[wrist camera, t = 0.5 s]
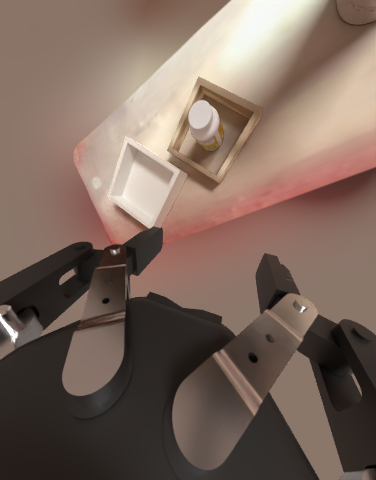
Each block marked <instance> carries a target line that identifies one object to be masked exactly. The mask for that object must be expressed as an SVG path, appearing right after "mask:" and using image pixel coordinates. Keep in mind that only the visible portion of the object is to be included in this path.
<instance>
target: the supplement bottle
mask: <svg viewBox="0 0 376 480" xmlns="http://www.w3.org/2000/svg"><path fill="white" fill-rule="evenodd" d="M188 119H189V123H190V130H191V133H192V135H193V137H194V138H195V139H196V140H197V142H198V143H199V144H200V145H201V147H202V148H203V149H204V150H206V151H214V150H216V149H217V148H218V147H219V146H220V145H221V144H222V141H223V138H224V131H223V128H222V125H221V121H220V118H219V115H218V112H217V110H216V109H215V108H214V107H212V106H210V104H209V103H208V102H207V101H205V100H200V101H197V102H196V103H194V104H193V106H192V107H191V109H190V111H189V115H188Z"/></svg>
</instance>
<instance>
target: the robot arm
mask: <svg viewBox="0 0 376 480" xmlns="http://www.w3.org/2000/svg"><path fill="white" fill-rule="evenodd" d="M337 10H338V12H339V15H340V16H341V18H342V19H343V20H344V21H346V22H348V23H350V24H355V25H358V24H366V23H370V22H373V21H375V20H376V0H337ZM162 244H163V229H162V228H159V227H155V226H153V227H151V228H150V229H148V230H146V231H143V232H140V233H139V234H137V235H136V236H134V237H133V238H131V239H130V240H128V241H127V242H126V243H124V244H123V245H121V244H114V245H110V246H108V247H106V248H105V249H104V250H95V249H93V246H92V244H91V243H89V242H78V243H74V244H72V245H70V246H68V247H66V248H64V249H62V250H60V251H58V252H56V253H54V254H53V255H50V256H49V257H47V258H45V259H43V260H41V261H39V262H37V263H35V264H33V265H31V266H30V267H27V268H26V269H24V270H22V271H20V272H18V273H16V274H14V275H12V276H10V277H8V278H7V279H5V280H3V281H1V282H0V480H319V478H318V476H317V474H316V473H315V471H314V469H313V468H312V466H311V464H310V462H309V461H308V459H307V457H306V455H305V454H304V452H303V450H302V448H301V447H300V445H299V443H298V441H297V440H296V438H295V436H294V434H293V433H292V431H291V429H290V427H289V426H288V424H287V422H286V421H285V419H284V417H283V415H282V414H281V412H280V410H279V408H278V407H277V405H276V403H275V401H274V400H273V398H272V396H271V394H270V393H269V391H270V389H271V388H272V386H273V384H274V383H275V382H276V380H277V378H278V377H279V375H280V374H281V372H282V371H283V369H284V368H285V366H286V365H287V363H288V362H289V360H290V359H291V357H292V356H293V354H294V353H295V351H296V350H297V351H299V352H300V353H302V354H303V355H305V356H306V357H308V358H309V359H310V363H311V365H312V369H313V372H314V376H315V379H316V382H317V386H318V389H319V392H320V395H321V399H322V402H323V405H324V409H325V412H326V415H327V418H328V422H329V425H330V428H331V432H332V435H333V438H334V441H335V445H336V448H337V451H338V455H339V458H340V461H341V464H342V468H343V471H344V473H342V474H341V475H340V476H339V479H338V480H376V335H375V334H374V333H372V332H371V331H370V330H368V329H367V328H365V327H364V326H362V325H360V324H358V323H356V322H354V321H351V320H347V319H343V320H341V321H340V322H339V323H338V324H336V323H334V322H332V321H330V320H328V319H326V318H324V317H322V316H321V315H319V314H318V312H317V309H316V308H315V306H314V305H313V304H312V303H311V302H310V301H309V300H307V299H305V298H304V297H302V296H301V295H300V293H299V291H298V289H297V287H296V285H295V282H294V280H293V278H292V277H291V274H290V271H289V270H288V269H287V268H286V267H285V266H284V265H282V264H280V262H279V260H278V257H277V256H274V255H270V254H266V253H265V254H264V255H263V257H262V260H261V262H260V264H259V267H258V269H257V272H256V285H257V292H258V298H259V306H260V313H261V315H260V316H259V317H257V318H256V319H255V320H254V321H253V322H252V323H251V324H250V325H248V326H247V327H246V328H245V329H244V330H243V331H242V332H241V333H240V334H238V335H237V336H235V335H234V333H233V332H232V331H231V330H230V329H228V328H227V327H226V326H224V325H223V324H222V323H221V321H222V317H221V316H219V315H216V314H213V313H210V312H207V311H204V310H198V309H188V308H182V307H180V306H179V305H177V304H176V303H174V302H173V301H171V300H170V299H168V298H166V297H164V296H161V295H158V294H155V293H152V292H150V293H149V294H148V295H147V297H135V298H131V296H130V275H131V274H133V275H136V276H138V275H139V274H140V273H141V272H142V271H143V270H144V269H145V268H146V266H147V265H148V264H149V263H150V262H151V261H152V260H153V259H154V258H155V257H156V255H157V254H158V253H159V252H160V251H161V249H162ZM71 269H74V272H75V275H74V276H72V277H71V278H70V279H68V280H67V281H66V282H64V283H63V284H62V285H59V280H60V278H61V277H62V276H63V275H64V274H65V273H67V272H68V271H70V270H71ZM87 290H89V292H88V295H87V300H86V303H85V307H84V311H83V315H82V319H81V320H78V321H76V322H74V323H71V324H69V325H67V326H65V327H62V328H60V329H58V330H55V331H53V332H51V333H48V334H46V335H44V336H41V334H42V331H43V330H45V329H46V328H47V327H48V326H49V325H50V324H51V323H52V322H53V321H54V320H56V319H57V318H58V317H59V316H60V315H61V314H62V313H63V312H64V311H65V310H66V309H68V308H69V307H70V306H71V305H72V304H73V303H74V302H75V301H76V300H77V299H79V298H80V297H81V296H82V295H83V294H84V293H85V292H86V291H87ZM40 336H41V337H40ZM353 373H354V375H355V377H356V379H357V381H358V383H359V385H360V388H361V391H362V396H361V394H360V392H359V390H358V388H357V386H356V384H355V382H354V380H353V378H352V376H351V374H353Z"/></svg>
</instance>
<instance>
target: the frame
mask: <svg viewBox="0 0 376 480" xmlns="http://www.w3.org/2000/svg"><path fill="white" fill-rule="evenodd" d="M204 95H205V96H207V97H209V98H211V99H213V100H215V101H216V102H218V103H220V104H222V105H224V106H226V107H228V108H230V109H232V110H234V111H236V112H238V113H240V114H241V115H243V116H245V117H247V118H249V119H250V120H249V122H248V123H247V125H246V127H245V128H244V130H243V132H242V134H241V135H240V137H239V139H238V140H237V142H236V144H235V145H234V147H233V149H232V150H231V152H230V154H229V155H228V157H227V159H226V160H225V162H224V164H223V166H222V167H221V169H220V171H219V172H218V174H217V175H215V174H213V173H212V172H210V171H208V170H207V169H205V168H204V167H202V166H200V165H199V164H197V163H195V162H194V161H192V160H191V159H189V158H187V157H186V156H184V155H182V154H181V153H179V152H178V151H179V149H180V147H181V144H182V142H183V140H184V138H185V136H186V133H187V131H188V129H189V127H190V123H189V119H188V115H189V111H190V109H191V107H192V106H193V104H194V103H196V102H197V101H200V100H202V98H203V96H204ZM262 110H263V108H261V107H259V106H257V105H255V104H253V103H251V102H249V101H247V100H245V99H243V98H241V97H239V96H237V95H235V94H233V93H231V92H229V91H227V90H225V89H223V88H221V87H219V86H217V85H215V84H213V83H211V82H209V81H207V80H205V79H203V78H201V77H198V79H197V81H196V84H195V86H194V89H193V91H192V93H191V96H190V98H189V100H188V103H187V105H186V107H185V110H184V112H183V114H182V117H181V119H180V121H179V124H178V126H177V128H176V131H175V133H174V135H173V138H172V140H171V143H170V145H169V147H168V150H167V151H168V152H170V153H171V154H173V155H174V156H176V157H178V158H179V159H181V160H182V161H184V162H186V163H187V164H189V165H191V166H192V167H194V168H195V169H197V170H199V171H200V172H202V173H203V174H205V175H207V176H208V177H210V178H211V179H213V180H215V181H216V182H218V183H219V184H220V183H221V181H222V180H223V178H224V177H225V175H226V173H227V172H228V170H229V168H230V167H231V165H232V164H233V162H234V160H235V159H236V157H237V155H238V154H239V152H240V151H241V149H242V147H243V146H244V144H245V143H246V141H247V139H248V138H249V136H250V134H251V133H252V131H253V130H254V128H255V126H256V125H257V123H258V121H259V120H260V118H261V115H262Z"/></svg>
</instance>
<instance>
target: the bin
mask: <svg viewBox="0 0 376 480" xmlns="http://www.w3.org/2000/svg"><path fill="white" fill-rule="evenodd" d="M187 176H188V174H187V173H185V172H183V171H182V170H180V169H179V168H177V167H176V166H174V165H173V164H171V163H169V162H168V161H166V160H165V159H163V158H162V157H160V156H158V155H157V154H155V153H154V152H152V151H151V150H149V149H147V148H146V147H144V146H143V145H141V144H140V143H138V142H136V141H134V140H132V139H131V138H129V137H127V136H126V137H125V140H124V144H123V147H122V150H121V153H120V157H119V160H118V163H117V166H116V170H115V173H114V176H113V180H112V183H111V186H110V189H109V193H108V196H107V198H109V199H110V200H111V201H113V202H114V203H115V204H117V205H118V206H119V207H121V208H122V209H123V210H125V211H126V212H127V213H129V214H130V215H131V216H133V217H134V218H135V219H137V220H138V221H139V222H141V223H142V224H143V225H145V226H146V227H147V228H149V229H150V228H151V227H153V226H155V227H159V228H161V227H162V225H163V223H164V221H165V219H166V217H167V215H168V213H169V211H170V209H171V207H172V205H173V203H174V201H175V199H176V197H177V196H178V194H179V192H180V190H181V188H182V186H183V184H184V182H185V180H186V178H187Z"/></svg>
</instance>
